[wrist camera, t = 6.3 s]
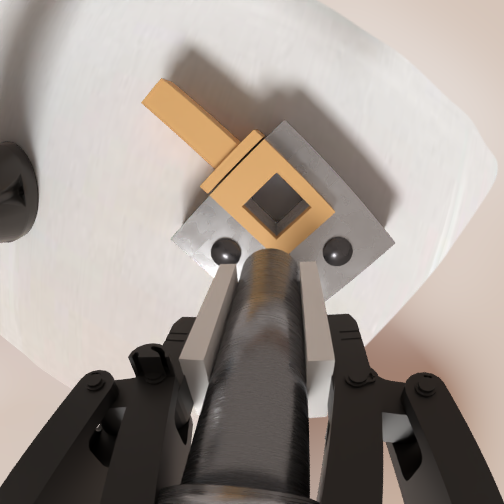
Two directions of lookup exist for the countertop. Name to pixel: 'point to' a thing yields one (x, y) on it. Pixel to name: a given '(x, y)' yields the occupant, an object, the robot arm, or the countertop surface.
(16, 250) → the countertop surface
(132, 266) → the countertop surface
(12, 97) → the countertop surface
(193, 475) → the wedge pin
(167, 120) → the bracket
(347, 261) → the grey latch block
